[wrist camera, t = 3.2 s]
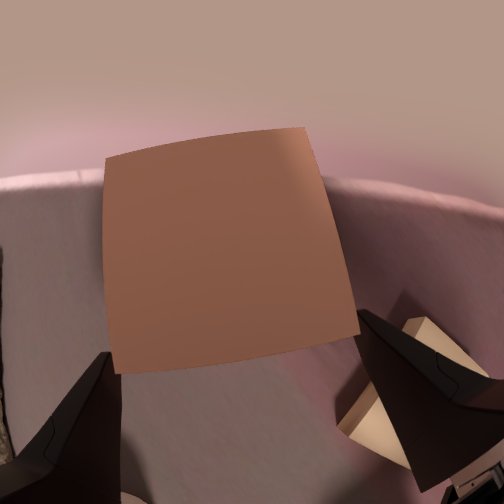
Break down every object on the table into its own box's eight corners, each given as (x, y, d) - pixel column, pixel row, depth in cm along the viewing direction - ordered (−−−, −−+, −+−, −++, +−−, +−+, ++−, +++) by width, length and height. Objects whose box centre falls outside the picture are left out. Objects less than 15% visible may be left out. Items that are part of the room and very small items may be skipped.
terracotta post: (277, 332, 19) (360, 333, 6) (199, 345, 19) (115, 373, 5) (263, 256, 21) (304, 127, 7) (187, 268, 20) (105, 158, 7)
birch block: (411, 466, 17) (428, 477, 14) (334, 424, 18) (348, 437, 15) (467, 374, 19) (488, 375, 16) (405, 319, 20) (425, 316, 17)
